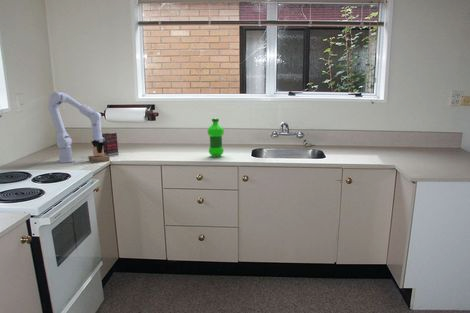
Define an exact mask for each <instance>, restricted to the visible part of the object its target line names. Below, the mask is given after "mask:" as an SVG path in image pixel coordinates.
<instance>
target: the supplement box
mask: <svg viewBox="0 0 470 313" xmlns="http://www.w3.org/2000/svg"><path fill="white" fill-rule="evenodd" d="M117 135H118V134H117V132H116V131H115V132H114V131H113V132H105V133H102V137H104V139H103V142H104V144H103V152H104V155H107V156H112V157H114V156H113V155H118V156H119V146H118V136H117Z"/></svg>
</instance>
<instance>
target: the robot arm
mask: <svg viewBox="0 0 470 313" xmlns="http://www.w3.org/2000/svg"><path fill="white" fill-rule="evenodd" d="M48 99H49V101H48V104H47V105H48V106H47V108H48V110H49V114H50V117H51V120H52V122H53V126H54V128H55V132H56V137H55V138H56V145H57V147H58V159H57V161H58V162H59V164H65V163H67V164H68V163H73V162H75V160H73V153H72V144H73V140H72V137H70V135H69V133H68V132H67V131H66V127H65V125H64V121H63V119H62V118H63V117H62V116H61V113H60V109H59V107H60V106H61V104H63V103H68V104H69V105H71V106H73V107H75V108H76V109H78V111H79V113H80V114H82V115H83V116H86V118H88V119H89V120H90V122H91V123H90V124H91V135H92V136H91V139H92V140H91V141H90V142H91V145H93V147H97V151H98V153H102V148H103V144H104V142H103V139H104V137H102V134H103V133H102V123H101V122H102V121H101V120H102V114H101V112H99V111H96V109H92V108H91V107H89V105H88V104H82V103H80V102H79V101H77V100H76V99H74V98H73V97H72V96H70V95H69V94H68V93H65V92H64V91H57V92H56V91H53V92H52V93H51V94H50V95H49V96H48Z"/></svg>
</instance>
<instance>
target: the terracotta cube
mask: <svg viewBox="0 0 470 313" xmlns="http://www.w3.org/2000/svg"><path fill="white" fill-rule="evenodd" d="M92 154H93V155H92V156H100V155H104V150H103V148H102V153H98V151H97V147H94V146H93V147H92Z"/></svg>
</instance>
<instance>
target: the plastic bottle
mask: <svg viewBox="0 0 470 313" xmlns="http://www.w3.org/2000/svg"><path fill="white" fill-rule="evenodd" d="M211 122H212V124H211V125H210V126H209V127H208V128H207V135H208V136H209V147H208V153H209V155H210V156H212V157H213V158H220V157H222V155H223V154H224V152H225V151H224V147H223V135H224V134H225V133H224V132H225V131H224V130H225V129H224V128H223V127H222V126H221V125H220V124H219V122H220V120H219V118H218V117H217V118H216V117H215V118H212V119H211Z"/></svg>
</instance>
